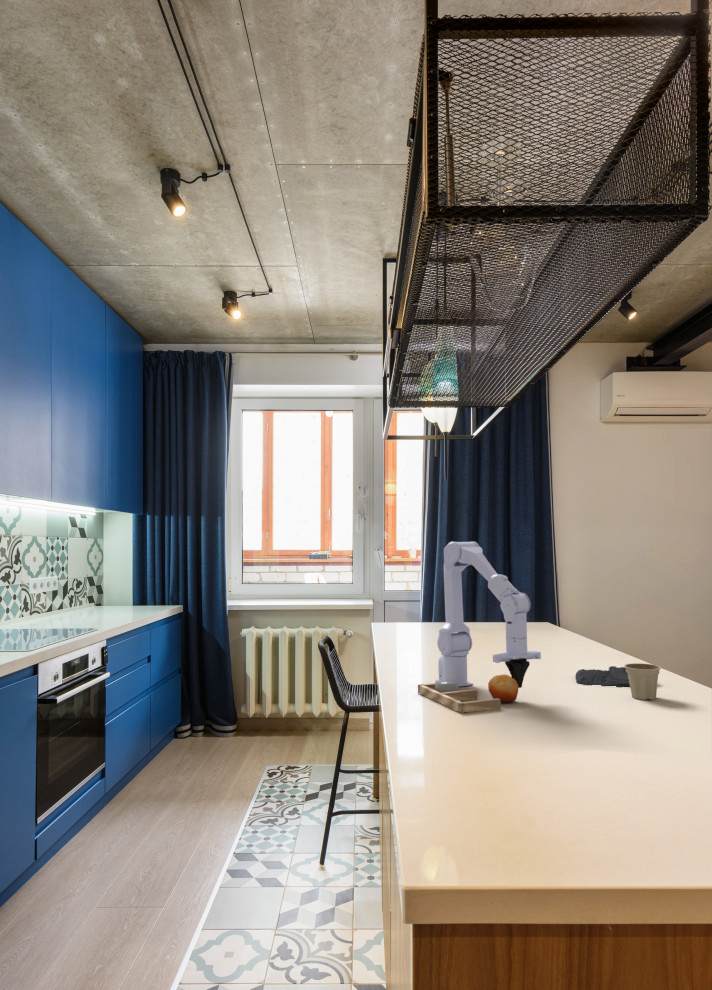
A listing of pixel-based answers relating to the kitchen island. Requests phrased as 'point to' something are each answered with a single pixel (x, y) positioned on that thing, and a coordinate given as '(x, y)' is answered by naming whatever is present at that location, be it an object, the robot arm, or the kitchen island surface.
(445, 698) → the wooden tray
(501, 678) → the fruit
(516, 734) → the kitchen island surface
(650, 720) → the kitchen island surface
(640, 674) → the flower pot
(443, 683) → the grey round dome
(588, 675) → the grey elongated lump
